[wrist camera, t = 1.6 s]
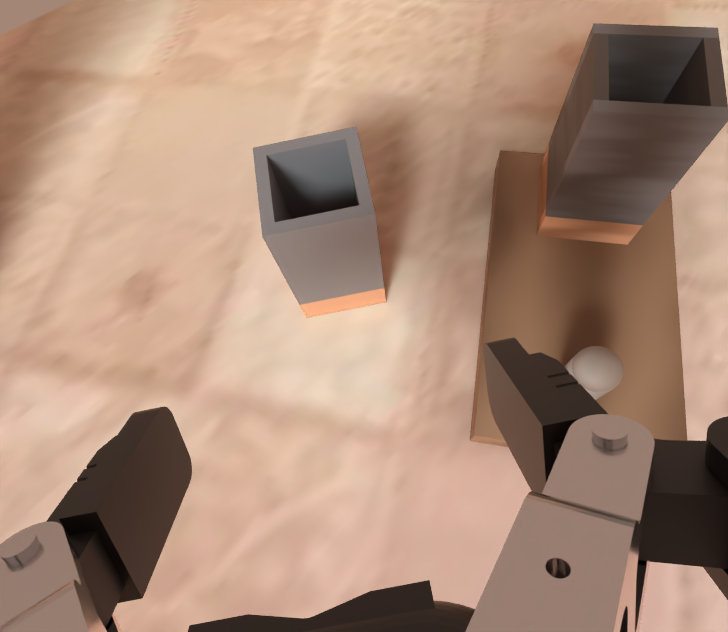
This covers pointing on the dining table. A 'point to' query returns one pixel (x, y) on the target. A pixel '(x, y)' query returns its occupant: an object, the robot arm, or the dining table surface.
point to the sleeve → (321, 220)
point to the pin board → (605, 225)
